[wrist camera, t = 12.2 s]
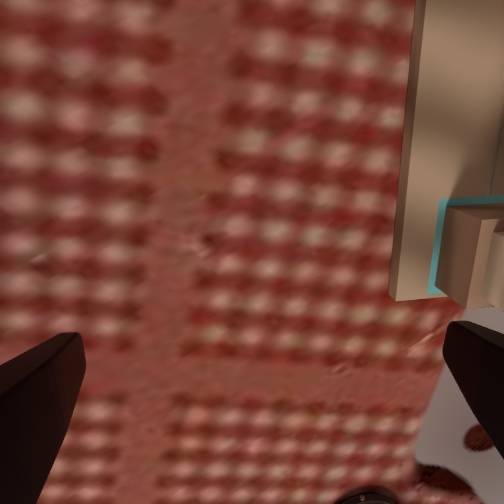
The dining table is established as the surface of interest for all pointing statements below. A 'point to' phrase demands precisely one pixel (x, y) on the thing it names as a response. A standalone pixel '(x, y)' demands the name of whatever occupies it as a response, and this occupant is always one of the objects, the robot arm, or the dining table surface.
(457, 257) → the knob-topped square post
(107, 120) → the dining table surface
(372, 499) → the compass
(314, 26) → the dining table surface
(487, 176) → the board with turquoise patch
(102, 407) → the dining table surface
